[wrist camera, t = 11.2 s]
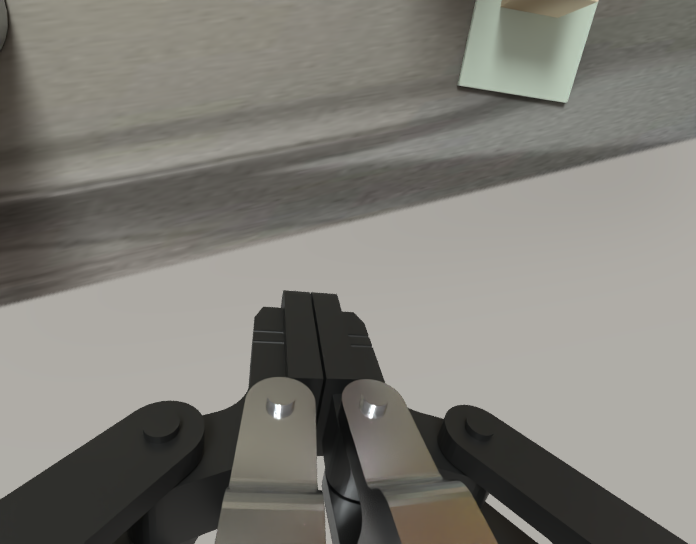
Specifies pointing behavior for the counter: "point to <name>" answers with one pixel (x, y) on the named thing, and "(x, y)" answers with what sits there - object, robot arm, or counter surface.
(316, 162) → the counter surface
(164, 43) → the counter surface
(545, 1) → the maple block
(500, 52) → the sage mat
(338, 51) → the counter surface
